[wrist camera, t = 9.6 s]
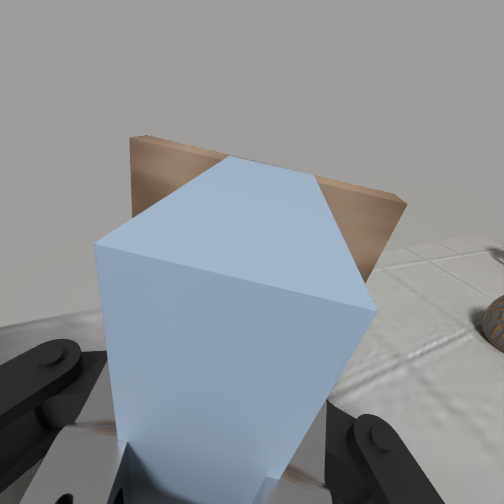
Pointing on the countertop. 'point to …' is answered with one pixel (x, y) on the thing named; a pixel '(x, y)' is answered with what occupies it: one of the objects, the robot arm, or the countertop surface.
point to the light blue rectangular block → (226, 329)
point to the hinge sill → (335, 192)
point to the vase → (494, 323)
